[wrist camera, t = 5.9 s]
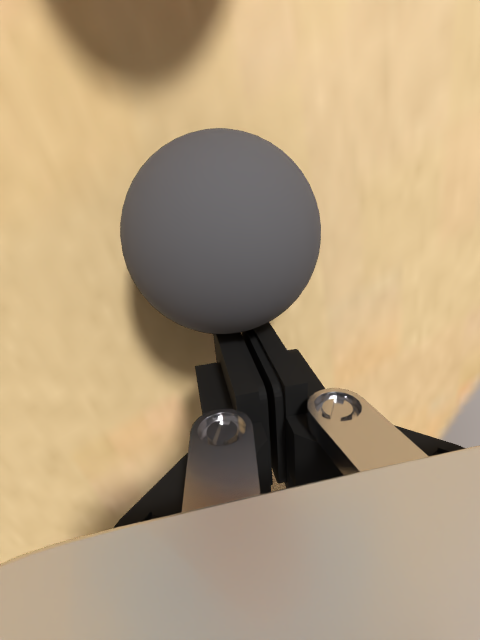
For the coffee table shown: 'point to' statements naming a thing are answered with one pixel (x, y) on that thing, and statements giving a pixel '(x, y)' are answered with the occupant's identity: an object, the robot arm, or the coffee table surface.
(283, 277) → the grey ball
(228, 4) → the coffee table surface
